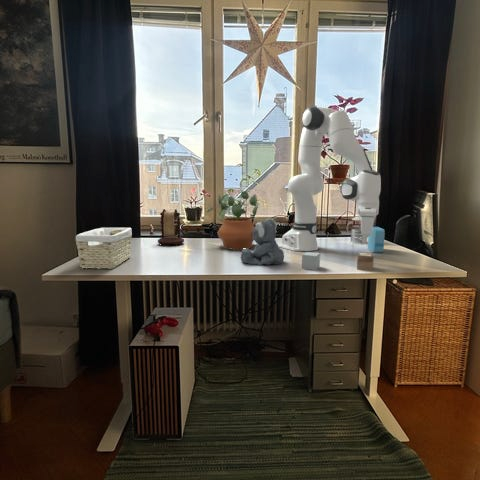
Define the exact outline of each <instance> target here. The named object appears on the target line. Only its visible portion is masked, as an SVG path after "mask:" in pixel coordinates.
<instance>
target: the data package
mask: <svg viewBox="0 0 480 480" xmlns="http://www.w3.org/2000/svg"><path fill="white" fill-rule="evenodd" d="M385 232H386V231H385V229H384V228H381V227H379V226H373V228H372V232H371V235H368V238H367V249H368V250H369V251H371V252H372V253H377V254H378V253H382V254H383V253H384V248H385V247H384V246H385V234H386V233H385Z"/></svg>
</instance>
